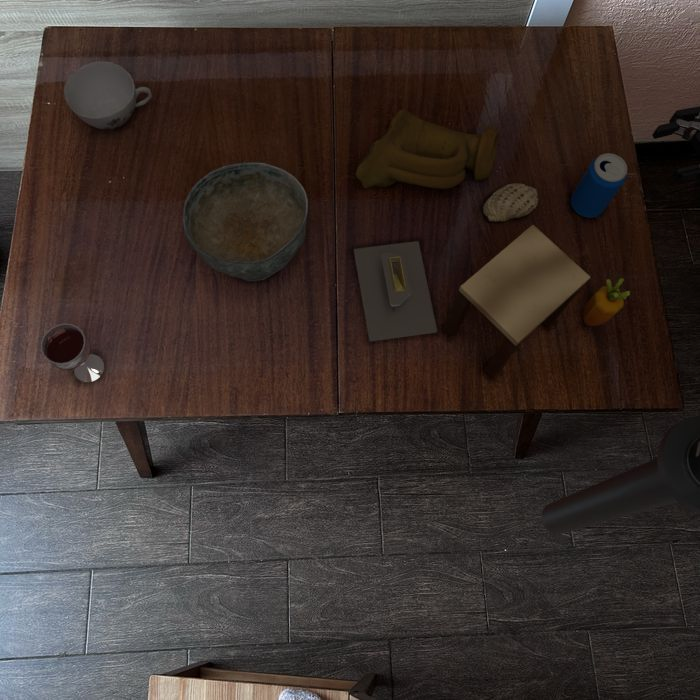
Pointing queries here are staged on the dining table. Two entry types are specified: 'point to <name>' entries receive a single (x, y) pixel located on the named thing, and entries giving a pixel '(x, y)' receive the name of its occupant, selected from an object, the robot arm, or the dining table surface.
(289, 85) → the dining table surface
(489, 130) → the brown looped sculpture
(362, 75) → the dining table surface
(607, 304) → the carrot
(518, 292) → the stool
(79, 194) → the dining table surface
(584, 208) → the beverage can
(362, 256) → the platform
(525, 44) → the dining table surface
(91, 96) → the teacup
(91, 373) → the wineglass
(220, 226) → the bowl
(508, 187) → the seashell
